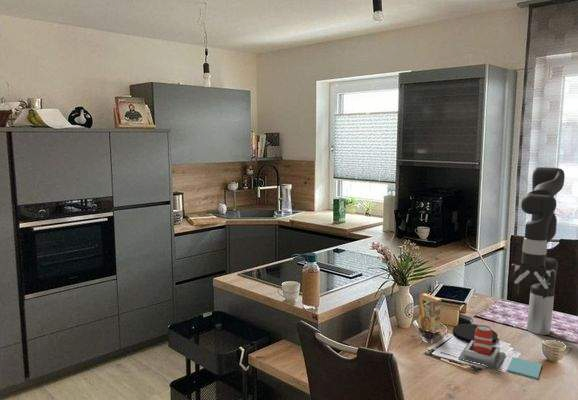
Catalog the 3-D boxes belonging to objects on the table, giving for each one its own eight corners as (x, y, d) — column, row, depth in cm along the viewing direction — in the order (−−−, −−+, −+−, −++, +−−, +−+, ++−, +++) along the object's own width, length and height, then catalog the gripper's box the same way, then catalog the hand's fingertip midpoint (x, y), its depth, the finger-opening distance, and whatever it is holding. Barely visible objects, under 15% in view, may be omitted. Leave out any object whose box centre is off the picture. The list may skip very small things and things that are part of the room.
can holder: (467, 345, 193) (468, 337, 192) (504, 355, 185) (505, 346, 185) (458, 359, 181) (459, 350, 181) (497, 369, 174) (498, 360, 173)
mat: (512, 358, 183) (512, 356, 182) (541, 365, 177) (541, 364, 177) (507, 371, 173) (507, 369, 173) (537, 379, 167) (537, 377, 167)
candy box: (439, 332, 205) (442, 298, 203) (433, 334, 203) (435, 300, 201) (423, 325, 212) (425, 292, 210) (417, 327, 210) (419, 294, 208)
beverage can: (489, 354, 185) (492, 325, 183) (490, 362, 179) (493, 332, 177) (473, 352, 187) (475, 323, 185) (473, 359, 181) (476, 329, 179)
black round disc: (453, 342, 197) (453, 337, 196) (451, 325, 214) (452, 321, 213) (499, 348, 192) (500, 343, 191) (494, 331, 209) (494, 326, 208)
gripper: (558, 252, 164) (553, 296, 167) (513, 246, 172) (509, 289, 174) (556, 256, 158) (552, 303, 161) (510, 250, 166) (506, 294, 168)
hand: (530, 295), depth 167 cm, fingers open, 8 cm apart
